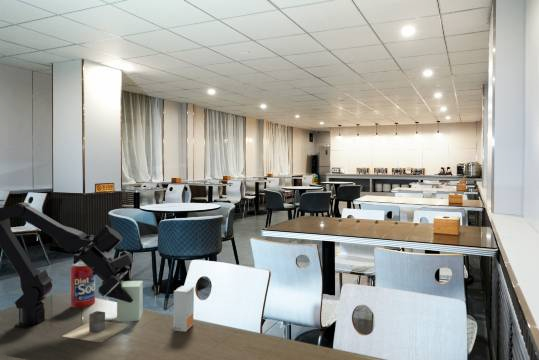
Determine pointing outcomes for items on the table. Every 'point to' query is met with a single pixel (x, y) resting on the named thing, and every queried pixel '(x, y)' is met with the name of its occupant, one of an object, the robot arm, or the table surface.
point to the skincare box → (183, 308)
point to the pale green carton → (134, 308)
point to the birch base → (96, 336)
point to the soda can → (81, 286)
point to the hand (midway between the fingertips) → (134, 296)
